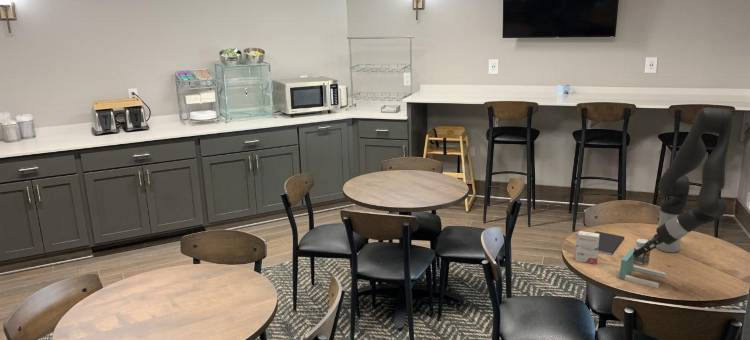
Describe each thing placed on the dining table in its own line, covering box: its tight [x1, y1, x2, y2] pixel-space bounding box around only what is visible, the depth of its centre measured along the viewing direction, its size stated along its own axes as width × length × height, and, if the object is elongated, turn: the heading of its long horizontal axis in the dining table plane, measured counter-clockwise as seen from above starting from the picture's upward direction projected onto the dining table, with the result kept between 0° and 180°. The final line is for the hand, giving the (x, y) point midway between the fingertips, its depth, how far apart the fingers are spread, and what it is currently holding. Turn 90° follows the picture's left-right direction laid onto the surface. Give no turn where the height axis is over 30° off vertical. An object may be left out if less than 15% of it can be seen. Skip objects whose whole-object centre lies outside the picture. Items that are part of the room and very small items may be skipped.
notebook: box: [594, 231, 625, 256], centre depth 265 cm, size 13×2×21 cm
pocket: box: [619, 248, 667, 289], centre depth 232 cm, size 14×12×8 cm
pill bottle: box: [633, 238, 651, 268], centre depth 231 cm, size 6×6×10 cm
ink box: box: [574, 230, 600, 265], centre depth 248 cm, size 9×5×12 cm, turn 65°
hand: (636, 252), depth 232 cm, fingers closed on pill bottle, 5 cm apart
